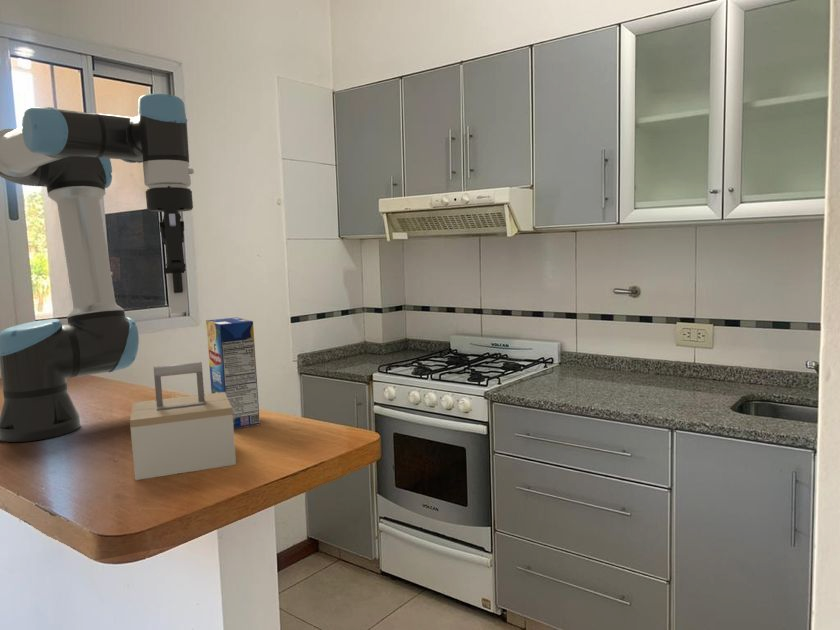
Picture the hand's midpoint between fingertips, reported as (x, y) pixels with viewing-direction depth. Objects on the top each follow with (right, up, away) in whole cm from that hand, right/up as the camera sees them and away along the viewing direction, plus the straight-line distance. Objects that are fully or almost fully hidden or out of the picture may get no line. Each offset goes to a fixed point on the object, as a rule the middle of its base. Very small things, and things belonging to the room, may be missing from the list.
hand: (178, 309), depth 114 cm
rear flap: (-1, -17, +3) cm, 18 cm away
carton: (+1, -27, +1) cm, 27 cm away
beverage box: (+3, -24, +25) cm, 35 cm away
